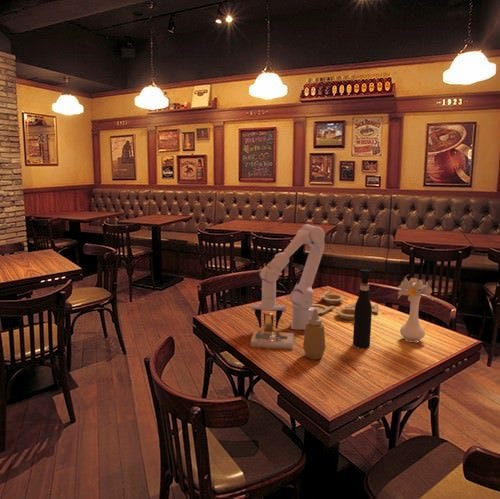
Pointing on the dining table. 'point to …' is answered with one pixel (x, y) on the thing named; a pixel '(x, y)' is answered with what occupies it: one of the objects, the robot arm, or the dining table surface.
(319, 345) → the squeeze bottle
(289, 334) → the plate
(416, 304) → the flower vase
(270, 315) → the brass fitting
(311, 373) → the dining table surface
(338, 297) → the tableware set
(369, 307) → the wine bottle
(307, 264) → the robot arm
